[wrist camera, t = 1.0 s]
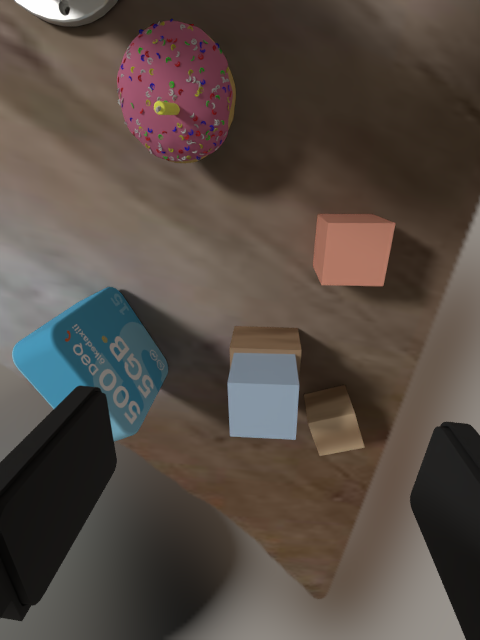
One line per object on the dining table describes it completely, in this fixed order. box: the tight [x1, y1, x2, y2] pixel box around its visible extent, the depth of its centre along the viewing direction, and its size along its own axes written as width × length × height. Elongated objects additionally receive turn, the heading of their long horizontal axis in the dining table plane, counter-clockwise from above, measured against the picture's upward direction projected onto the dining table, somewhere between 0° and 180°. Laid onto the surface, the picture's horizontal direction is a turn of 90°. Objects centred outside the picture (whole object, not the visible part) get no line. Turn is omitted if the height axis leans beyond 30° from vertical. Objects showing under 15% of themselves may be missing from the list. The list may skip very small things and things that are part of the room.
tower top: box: [227, 353, 299, 440], centre depth 30 cm, size 6×6×5 cm
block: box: [304, 385, 364, 456], centre depth 37 cm, size 5×5×5 cm
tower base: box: [230, 326, 302, 380], centre depth 34 cm, size 7×7×5 cm
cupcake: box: [117, 19, 236, 163], centre depth 21 cm, size 9×8×12 cm
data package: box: [12, 287, 168, 441], centre depth 32 cm, size 12×4×12 cm, turn 26°
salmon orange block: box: [313, 214, 395, 286], centre depth 28 cm, size 5×5×6 cm
